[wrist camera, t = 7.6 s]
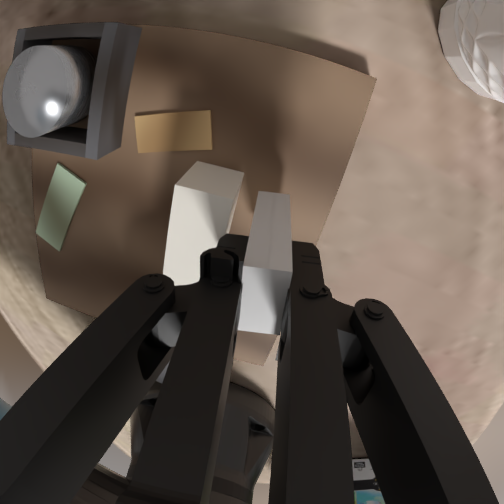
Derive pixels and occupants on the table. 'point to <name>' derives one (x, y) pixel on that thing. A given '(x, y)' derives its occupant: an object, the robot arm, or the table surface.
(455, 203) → the table surface
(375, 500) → the tea box
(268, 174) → the board
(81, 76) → the button
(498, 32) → the white cup
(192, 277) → the peg lever
